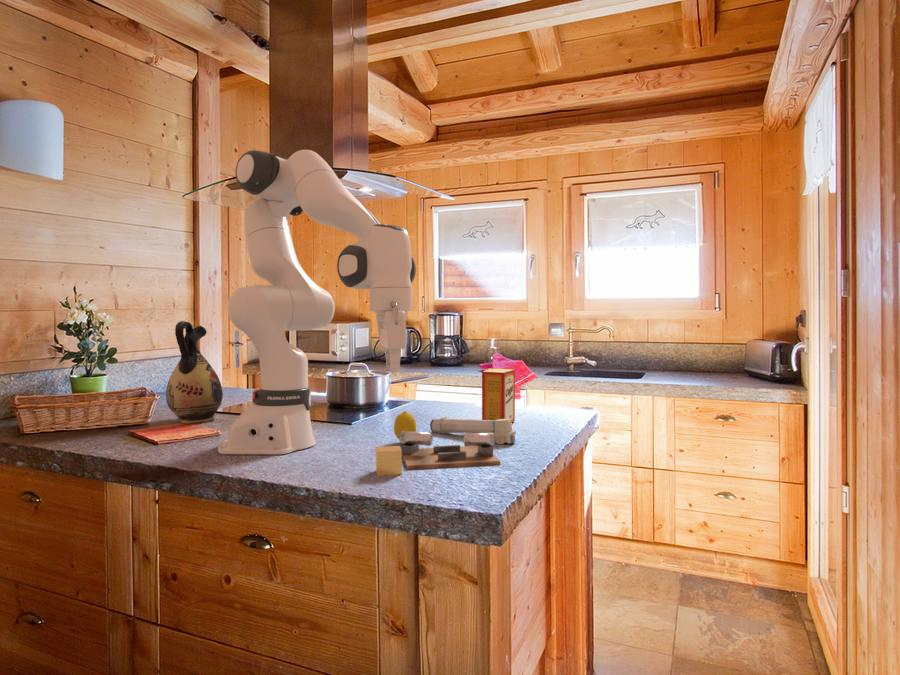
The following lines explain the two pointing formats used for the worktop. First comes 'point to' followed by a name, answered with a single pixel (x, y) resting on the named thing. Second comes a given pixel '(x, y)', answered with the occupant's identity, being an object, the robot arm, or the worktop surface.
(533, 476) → the worktop surface
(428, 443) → the shaft
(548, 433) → the worktop surface
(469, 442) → the shaft
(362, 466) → the worktop surface
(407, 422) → the lemon
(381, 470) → the coupling block
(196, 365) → the ceramic jug
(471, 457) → the shaft bench
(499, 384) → the baking soda box
